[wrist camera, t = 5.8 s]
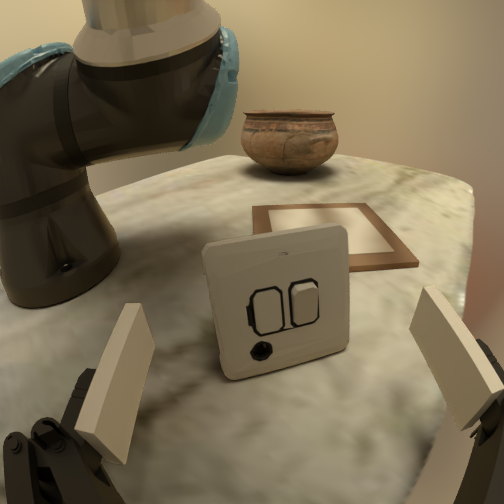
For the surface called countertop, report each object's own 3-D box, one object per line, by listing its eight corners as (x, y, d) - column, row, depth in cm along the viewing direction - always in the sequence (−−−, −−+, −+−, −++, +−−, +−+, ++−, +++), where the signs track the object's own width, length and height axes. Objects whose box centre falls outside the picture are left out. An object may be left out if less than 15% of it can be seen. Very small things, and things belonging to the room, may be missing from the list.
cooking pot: (224, 165, 66) (220, 111, 60) (296, 156, 72) (296, 108, 66) (278, 195, 46) (276, 115, 40) (367, 181, 52) (370, 116, 46)
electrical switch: (225, 385, 17) (204, 260, 13) (212, 339, 21) (194, 228, 17) (349, 351, 19) (364, 233, 15) (319, 314, 23) (323, 210, 19)
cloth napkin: (256, 277, 27) (256, 270, 26) (252, 210, 41) (252, 205, 40) (418, 266, 27) (419, 260, 26) (365, 207, 41) (365, 202, 40)
